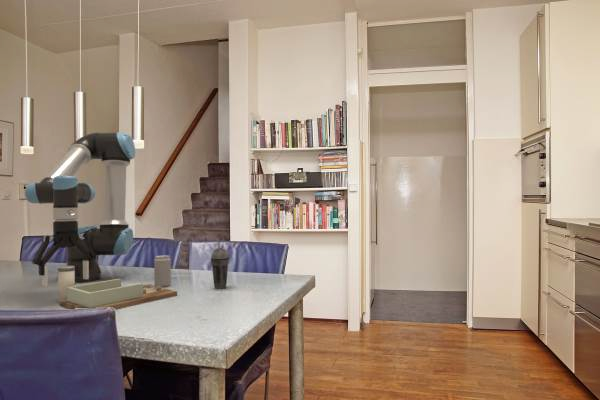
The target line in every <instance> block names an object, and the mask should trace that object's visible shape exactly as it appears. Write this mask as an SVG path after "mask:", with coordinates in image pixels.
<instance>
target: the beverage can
mask: <svg viewBox="0 0 600 400" xmlns="http://www.w3.org/2000/svg"><path fill="white" fill-rule="evenodd" d="M171 261H172V259H171V257H170V255H168V254H167V255H156V256H155V257H154V259H153V268H154V269H153V271H154V272H153V273H154V274H153V277H154V283H153V284H154V286H155V287H156V286H161V288H165V287H166V288H167V287H169V286H170V285H171V283H172V266H171V265H172V262H171Z"/></svg>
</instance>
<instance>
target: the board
mask: <svg viewBox="0 0 600 400" xmlns="http://www.w3.org/2000/svg"><path fill="white" fill-rule="evenodd" d="M176 296H178V291H177V290H173V289H168V288H165V287H161V286H156V285H154V286H153V285H152V283H147V284H143V297H138V298H134V299H129V300H124V301H120V302H115V303H110V304H105V305H101V306H96V307H113V308H116V309H115V310H118V309H117V308H119V309H123V308H122V307H124V308H127V306H128V307H132V305H133V306H135V305H136V304H137V305H141V303H142V304H145V302H146V303H150V302H154V301H158V300H163V299H167V298H173V297H176ZM137 305H136V306H137ZM59 306H60V307H63V308H67V309H69V310H72V309H75V308H88V307H84V306H81V305H78V304H75V303H72V302H69V301H67V300H62V301H60V303H59ZM96 307H91V308H96Z"/></svg>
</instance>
